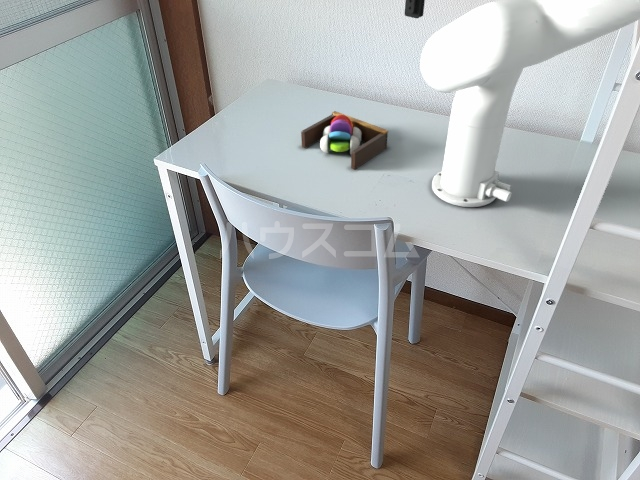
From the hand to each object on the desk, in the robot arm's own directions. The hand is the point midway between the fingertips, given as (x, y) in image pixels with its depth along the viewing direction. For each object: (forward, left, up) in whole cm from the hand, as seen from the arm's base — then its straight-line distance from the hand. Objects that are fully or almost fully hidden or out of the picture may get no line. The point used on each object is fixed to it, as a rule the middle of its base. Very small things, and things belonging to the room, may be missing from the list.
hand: (413, 16), depth 99 cm
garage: (+8, +11, -27) cm, 30 cm away
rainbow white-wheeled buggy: (+9, +11, -27) cm, 31 cm away
